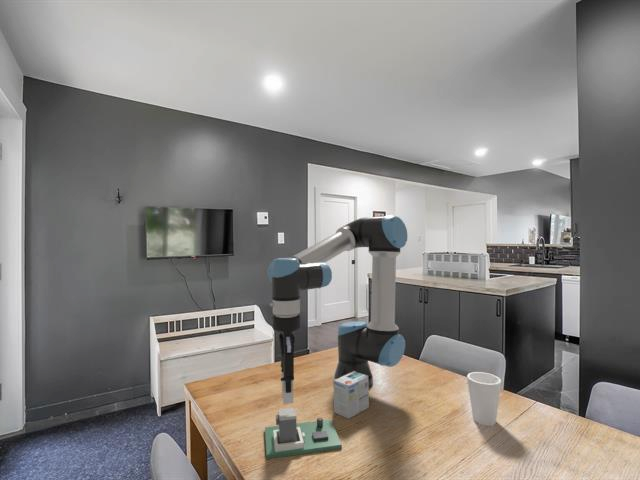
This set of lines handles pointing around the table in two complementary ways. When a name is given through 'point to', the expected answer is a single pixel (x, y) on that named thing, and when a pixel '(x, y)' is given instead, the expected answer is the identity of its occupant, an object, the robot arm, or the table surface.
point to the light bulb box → (351, 394)
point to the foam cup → (484, 396)
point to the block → (287, 425)
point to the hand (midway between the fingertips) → (287, 399)
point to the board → (303, 439)
